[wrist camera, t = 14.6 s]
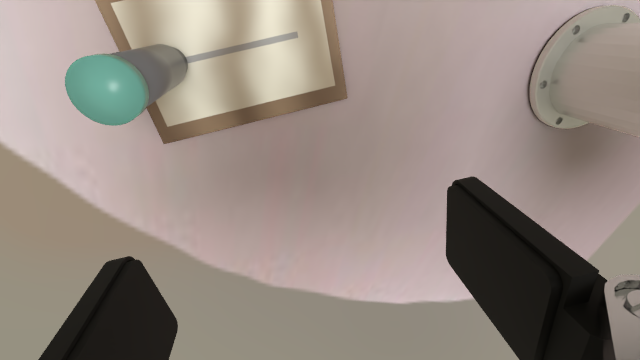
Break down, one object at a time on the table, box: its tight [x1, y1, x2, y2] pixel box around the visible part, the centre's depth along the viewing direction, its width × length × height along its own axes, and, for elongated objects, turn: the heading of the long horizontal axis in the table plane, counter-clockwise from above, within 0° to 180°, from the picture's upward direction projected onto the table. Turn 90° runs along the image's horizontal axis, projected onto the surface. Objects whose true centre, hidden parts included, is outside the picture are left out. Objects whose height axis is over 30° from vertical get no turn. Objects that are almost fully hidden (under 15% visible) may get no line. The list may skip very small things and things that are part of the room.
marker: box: [65, 44, 188, 125], centre depth 21 cm, size 3×3×12 cm
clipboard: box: [95, 0, 347, 144], centre depth 26 cm, size 18×13×2 cm
